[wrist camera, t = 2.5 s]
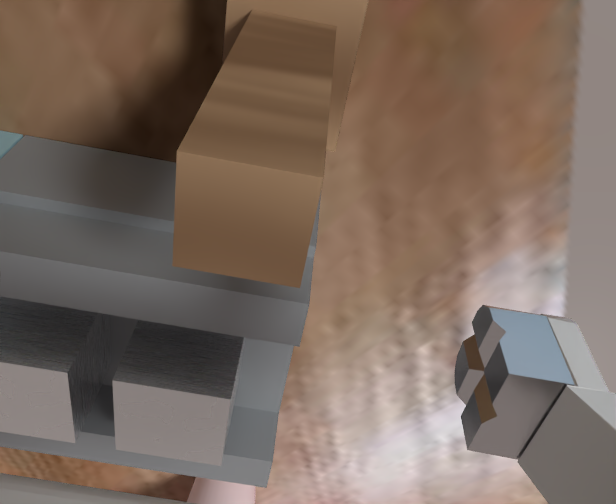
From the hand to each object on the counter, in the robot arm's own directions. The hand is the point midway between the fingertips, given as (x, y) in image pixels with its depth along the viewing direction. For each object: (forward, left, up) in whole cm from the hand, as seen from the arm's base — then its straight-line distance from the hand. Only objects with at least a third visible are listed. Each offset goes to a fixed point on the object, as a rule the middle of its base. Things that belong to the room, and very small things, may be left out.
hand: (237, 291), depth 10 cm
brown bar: (0, 0, -13) cm, 13 cm away
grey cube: (+12, -2, -9) cm, 15 cm away
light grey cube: (+12, -8, -9) cm, 17 cm away
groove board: (+12, -4, -13) cm, 18 cm away
